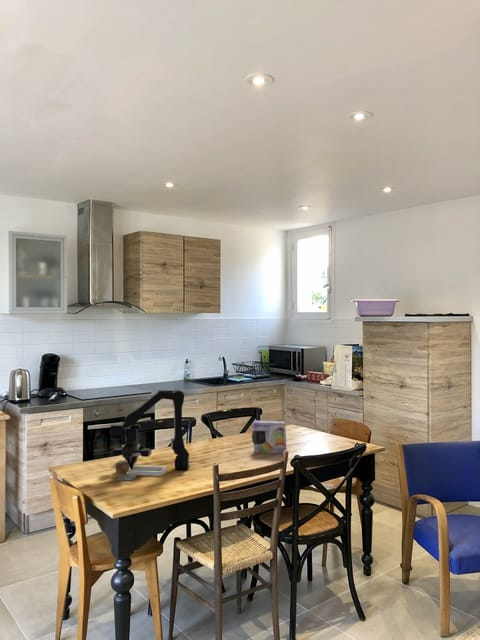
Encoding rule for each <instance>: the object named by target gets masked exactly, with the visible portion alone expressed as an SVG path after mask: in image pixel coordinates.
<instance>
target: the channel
mask: <svg viewBox="0 0 480 640" xmlns="http://www.w3.org/2000/svg"><path fill="white" fill-rule="evenodd" d="M166 472H167V466H165V465H163V466H161V465H160V466H159V465H134V467H133V470H131V469H129V470H128V472H127V474H135V475H138V476H148V477H149V476H153V477H154V476H155V477H162V476H163V475H164V474H165V473H166Z"/></svg>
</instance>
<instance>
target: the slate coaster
mask: <svg viewBox="0 0 480 640" xmlns="http://www.w3.org/2000/svg"><path fill="white" fill-rule="evenodd" d="M138 476H139V475H135V474H128V473H126V474H122V473H120V474H119V476H117V477H116V478H115V481H121V482H122V481H123V482H124V481H126V482H133V481H134V480H135V479H136V478H137V477H138Z"/></svg>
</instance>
